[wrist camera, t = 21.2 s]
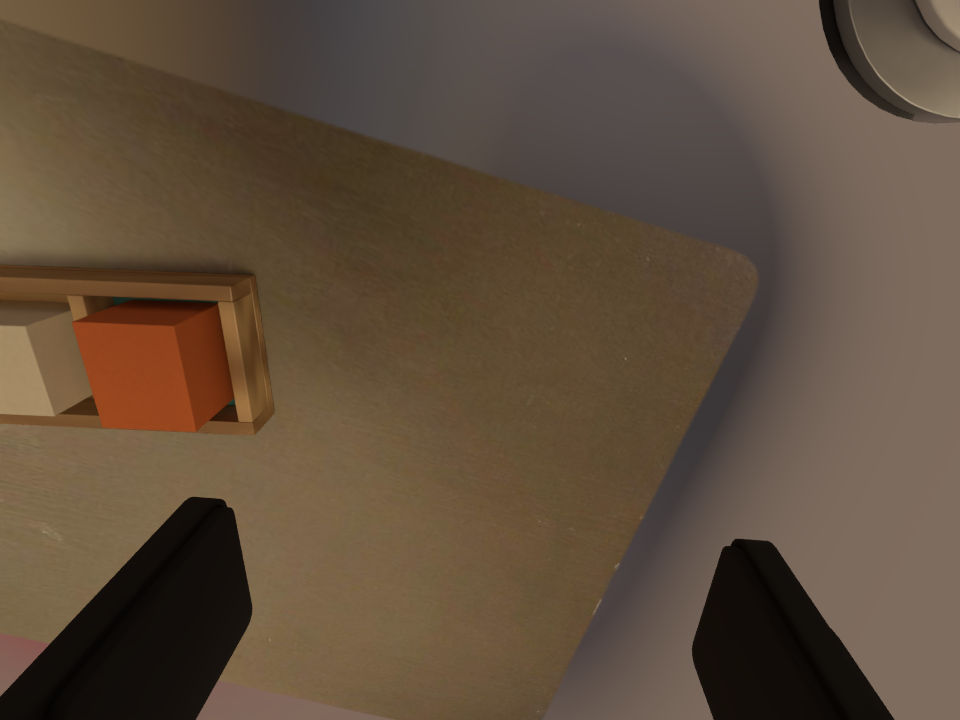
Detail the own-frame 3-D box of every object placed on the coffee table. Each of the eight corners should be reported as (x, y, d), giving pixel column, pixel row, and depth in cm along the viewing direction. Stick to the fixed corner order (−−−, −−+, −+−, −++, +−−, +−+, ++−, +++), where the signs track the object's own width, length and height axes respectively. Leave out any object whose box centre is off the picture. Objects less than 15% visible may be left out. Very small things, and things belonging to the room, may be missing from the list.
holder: (-36, 263, 33) (-90, 273, 30) (255, 274, 33) (230, 286, 30) (14, 401, 37) (-29, 422, 34) (275, 413, 37) (254, 435, 34)
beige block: (-11, 299, 33) (-93, 321, 28) (90, 303, 33) (24, 326, 28) (18, 379, 35) (-55, 411, 31) (112, 383, 35) (54, 417, 31)
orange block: (131, 299, 33) (70, 321, 28) (219, 302, 32) (173, 326, 28) (154, 393, 35) (102, 428, 31) (236, 396, 35) (196, 432, 30)
